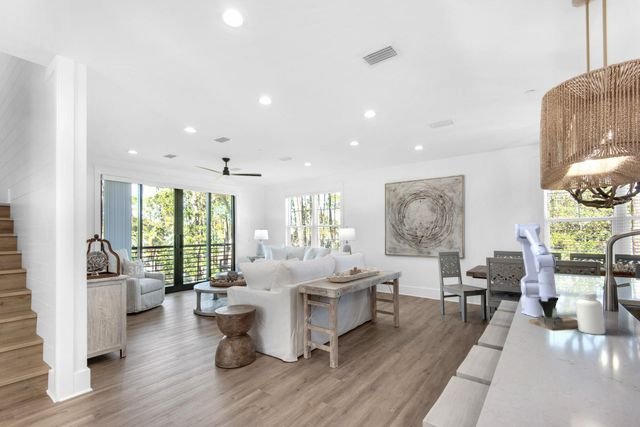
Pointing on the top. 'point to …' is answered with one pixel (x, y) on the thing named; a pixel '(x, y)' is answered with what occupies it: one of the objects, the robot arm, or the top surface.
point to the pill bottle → (589, 314)
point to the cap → (554, 314)
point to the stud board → (555, 323)
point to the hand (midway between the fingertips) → (550, 315)
